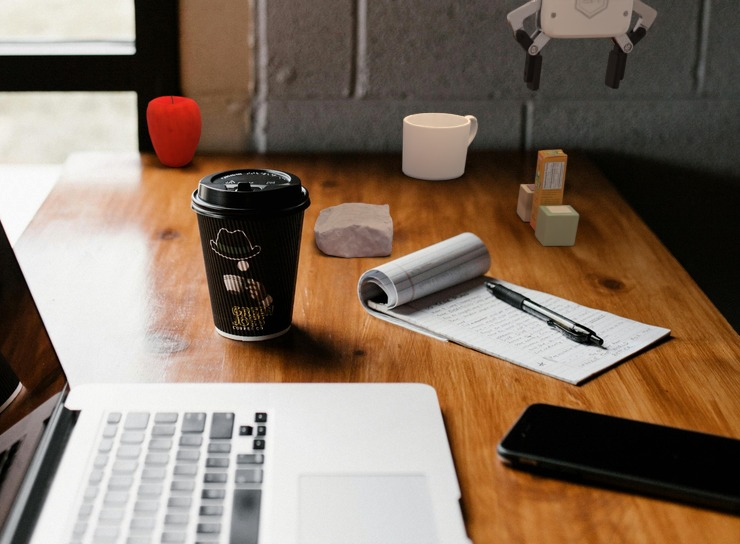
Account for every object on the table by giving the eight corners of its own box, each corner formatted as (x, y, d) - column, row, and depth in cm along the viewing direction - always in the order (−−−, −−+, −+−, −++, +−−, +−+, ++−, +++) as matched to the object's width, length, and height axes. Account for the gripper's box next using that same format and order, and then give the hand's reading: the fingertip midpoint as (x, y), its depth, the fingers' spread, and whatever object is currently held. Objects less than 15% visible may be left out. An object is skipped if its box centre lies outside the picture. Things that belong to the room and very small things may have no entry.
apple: (214, 162, 144) (211, 95, 139) (177, 174, 138) (172, 103, 133) (176, 154, 149) (171, 88, 143) (139, 165, 143) (133, 97, 137)
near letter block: (564, 235, 112) (570, 204, 110) (574, 245, 109) (579, 214, 107) (534, 235, 112) (539, 204, 110) (542, 246, 109) (547, 214, 107)
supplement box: (526, 224, 116) (537, 148, 111) (552, 224, 116) (564, 148, 111) (532, 232, 113) (543, 155, 108) (559, 232, 113) (571, 155, 108)
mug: (426, 184, 132) (431, 130, 128) (387, 169, 140) (389, 117, 136) (493, 172, 138) (499, 120, 134) (451, 158, 146) (456, 108, 142)
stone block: (319, 271, 107) (399, 255, 105) (312, 233, 104) (393, 217, 103) (318, 241, 117) (391, 227, 116) (311, 207, 115) (386, 192, 113)
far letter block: (544, 212, 121) (549, 183, 118) (552, 221, 117) (557, 191, 115) (516, 212, 120) (520, 183, 118) (523, 221, 117) (527, 192, 115)
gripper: (525, -73, 93) (508, 95, 101) (685, -76, 93) (654, 91, 102) (508, -73, 99) (493, 84, 108) (658, -77, 99) (631, 81, 108)
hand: (571, 88), depth 105 cm, fingers open, 9 cm apart
